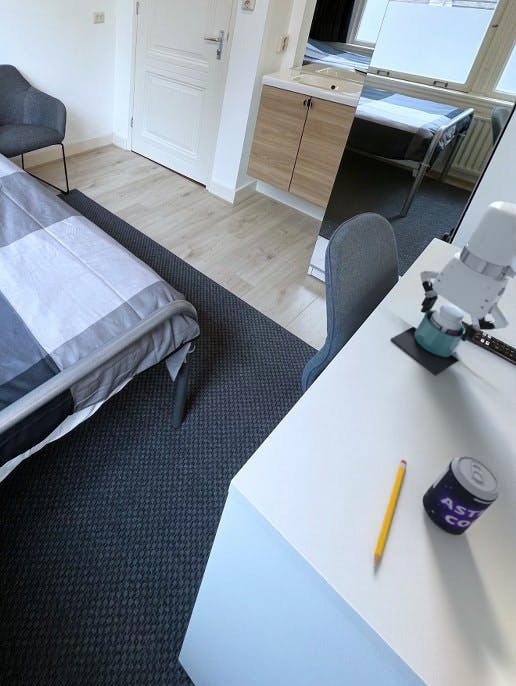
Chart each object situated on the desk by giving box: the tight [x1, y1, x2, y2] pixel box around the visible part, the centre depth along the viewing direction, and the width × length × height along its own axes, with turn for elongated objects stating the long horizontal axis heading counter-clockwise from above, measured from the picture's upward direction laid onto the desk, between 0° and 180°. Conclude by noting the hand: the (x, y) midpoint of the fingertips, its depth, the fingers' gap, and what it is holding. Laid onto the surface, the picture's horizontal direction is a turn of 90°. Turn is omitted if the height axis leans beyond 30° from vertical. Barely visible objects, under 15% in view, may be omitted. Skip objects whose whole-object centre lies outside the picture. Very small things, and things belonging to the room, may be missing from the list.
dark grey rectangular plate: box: [390, 326, 459, 376], centre depth 95 cm, size 10×14×1 cm
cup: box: [414, 309, 466, 357], centre depth 93 cm, size 8×8×6 cm
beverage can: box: [422, 455, 500, 536], centre depth 63 cm, size 6×6×12 cm
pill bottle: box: [429, 303, 465, 336], centre depth 92 cm, size 5×5×10 cm
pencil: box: [373, 459, 408, 568], centre depth 65 cm, size 1×19×1 cm, turn 138°
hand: (445, 323), depth 92 cm, fingers closed on cup, 7 cm apart
